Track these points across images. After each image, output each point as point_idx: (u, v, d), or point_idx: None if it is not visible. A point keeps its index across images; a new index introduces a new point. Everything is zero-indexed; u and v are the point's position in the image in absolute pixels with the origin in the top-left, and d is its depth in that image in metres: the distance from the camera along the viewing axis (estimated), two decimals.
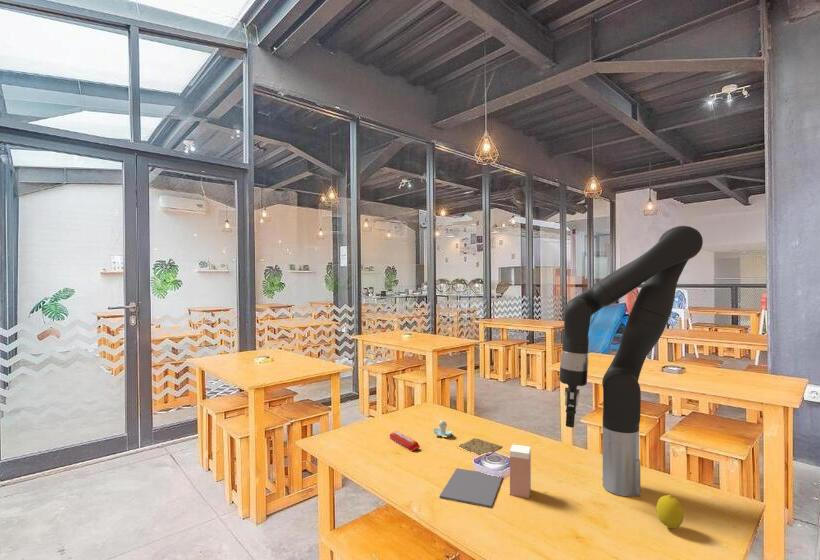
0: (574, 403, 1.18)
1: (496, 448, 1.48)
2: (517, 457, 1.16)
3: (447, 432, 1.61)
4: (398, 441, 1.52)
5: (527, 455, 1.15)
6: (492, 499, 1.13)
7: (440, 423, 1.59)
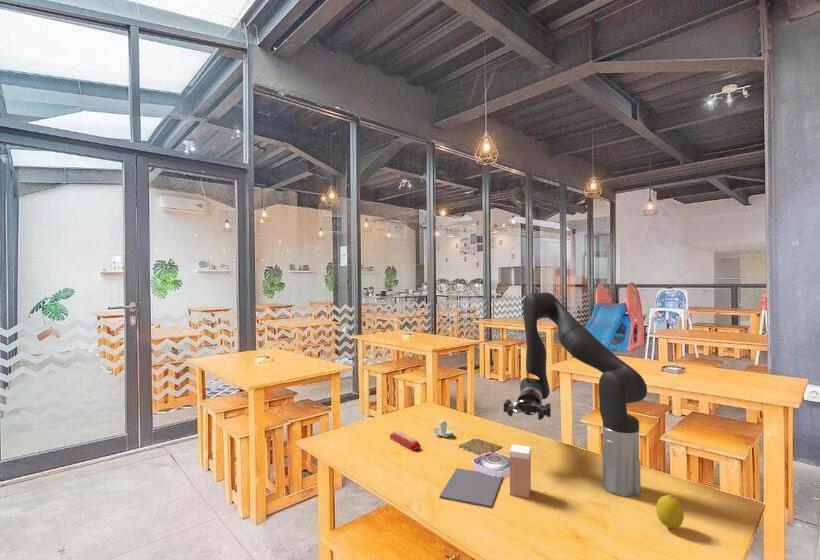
0: (505, 402, 1.38)
1: (496, 448, 1.48)
2: (517, 457, 1.16)
3: (447, 432, 1.61)
4: (399, 441, 1.52)
5: (527, 455, 1.15)
6: (492, 499, 1.13)
7: (440, 423, 1.60)
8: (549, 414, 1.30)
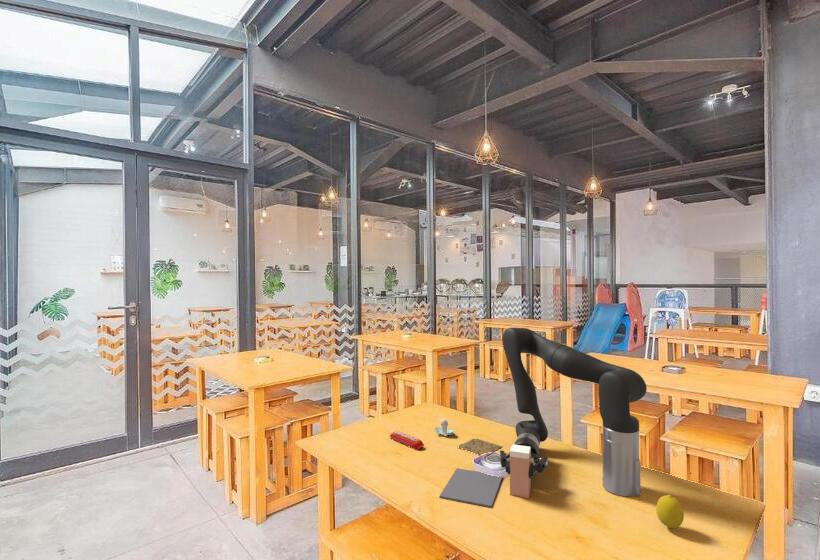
0: (500, 455, 1.25)
1: (496, 448, 1.48)
2: (517, 457, 1.16)
3: (448, 431, 1.62)
4: (400, 441, 1.53)
5: (527, 455, 1.15)
6: (492, 499, 1.13)
7: (441, 422, 1.60)
8: (540, 470, 1.18)
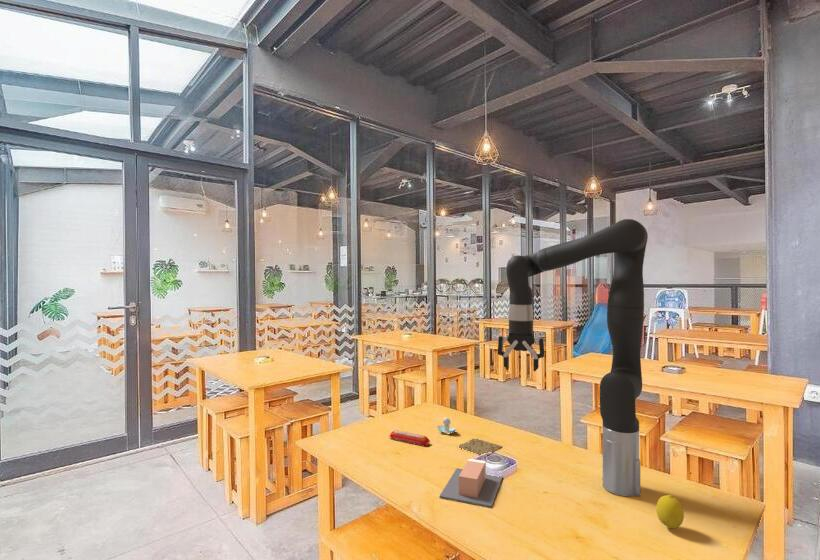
0: None
1: (496, 448, 1.48)
2: None
3: (451, 429, 1.64)
4: (404, 439, 1.54)
5: None
6: (492, 499, 1.13)
7: (444, 420, 1.62)
8: None
